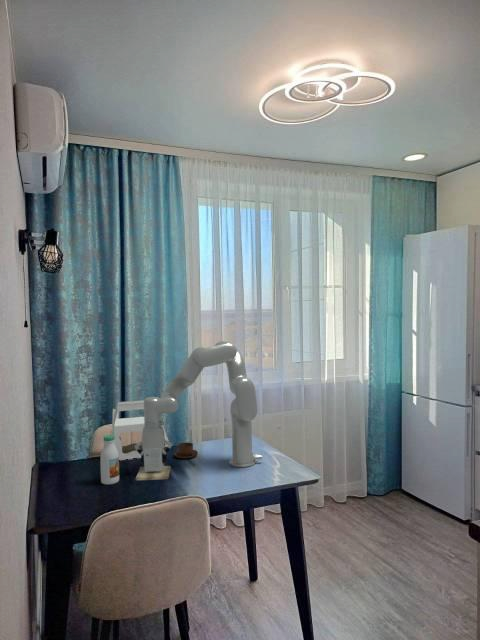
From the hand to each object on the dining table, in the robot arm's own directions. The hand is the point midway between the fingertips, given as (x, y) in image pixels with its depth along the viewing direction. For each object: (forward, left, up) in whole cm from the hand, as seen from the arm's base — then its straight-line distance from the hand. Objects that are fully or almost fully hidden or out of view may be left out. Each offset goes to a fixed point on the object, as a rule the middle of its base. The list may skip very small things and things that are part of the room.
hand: (153, 462), depth 210 cm
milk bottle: (+18, +7, -5) cm, 20 cm away
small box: (0, 0, -3) cm, 3 cm away
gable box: (+13, -30, -5) cm, 34 cm away
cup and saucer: (-13, -24, -6) cm, 28 cm away
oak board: (0, 0, -5) cm, 5 cm away
